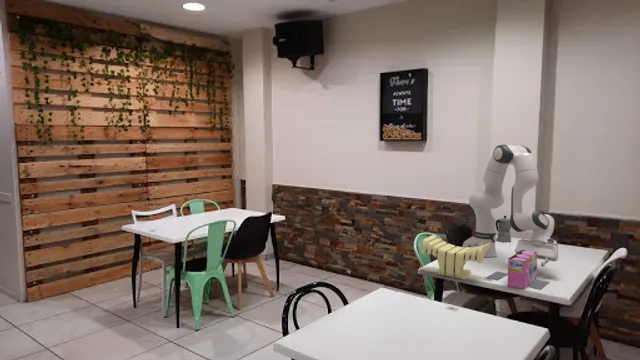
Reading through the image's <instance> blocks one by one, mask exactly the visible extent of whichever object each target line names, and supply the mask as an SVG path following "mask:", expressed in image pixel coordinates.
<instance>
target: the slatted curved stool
mask: <svg viewBox="0 0 640 360" xmlns="http://www.w3.org/2000/svg"><path fill="white" fill-rule="evenodd" d="M489 248H490V243H487V244H485V245H481V246H477V247H474V248H473V247H466V248H464V247H463V246H458V245H457V246H456V245H454V244H451V243H448V242H446V241H444V240H443V239H441V238H439V237H438V236H436V235H435V234H432V235H430V236H427V237H425V238H424V239H423V240H422V244H421V254H423V255H424V254H427V255H432V256H434V258H437V259H436V260H437V263H438V267H439V269H438V275H440V276H446V277H449V278H450V277H451V278H455V279H460V280H465V279H467V278H468V277H469V276H471V275H472V274H473V272H472V270H471V269H469V268H464V267H465V265H466V263H467V262H469V261H471V262H476V263H478V264H482V263H484V258H485V257H484V254H485V252H486V251H487V250H488V249H489Z"/></svg>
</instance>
